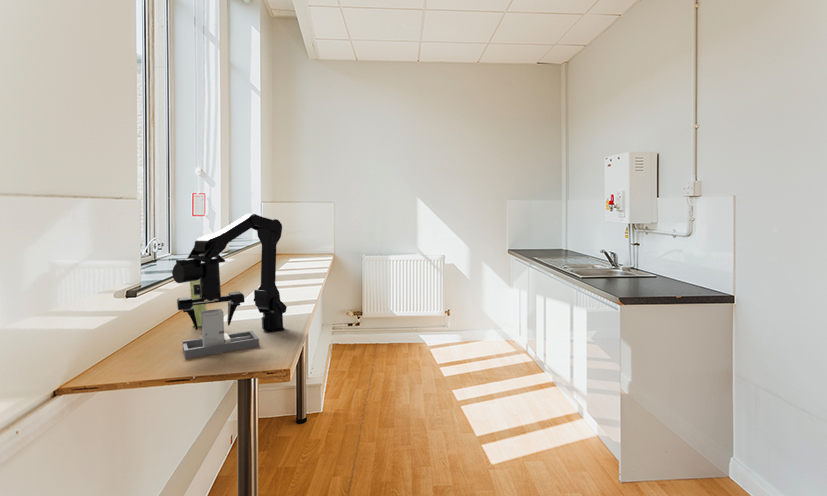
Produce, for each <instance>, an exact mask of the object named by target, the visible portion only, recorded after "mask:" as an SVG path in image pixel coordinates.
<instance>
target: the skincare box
mask: <svg viewBox="0 0 827 496" xmlns="http://www.w3.org/2000/svg"><path fill="white" fill-rule="evenodd" d="M206 310H207V309H206ZM201 314H202V326H201V331H202V333H201V335H202V337H201V338H203V347H204V346H210V345H216V344H222V343H224V333H225V324H224V323H225V322H224V321H225V319H224V317H225V316H224V311H223V309H222V308H218V309H209V310H207V311H201Z"/></svg>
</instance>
